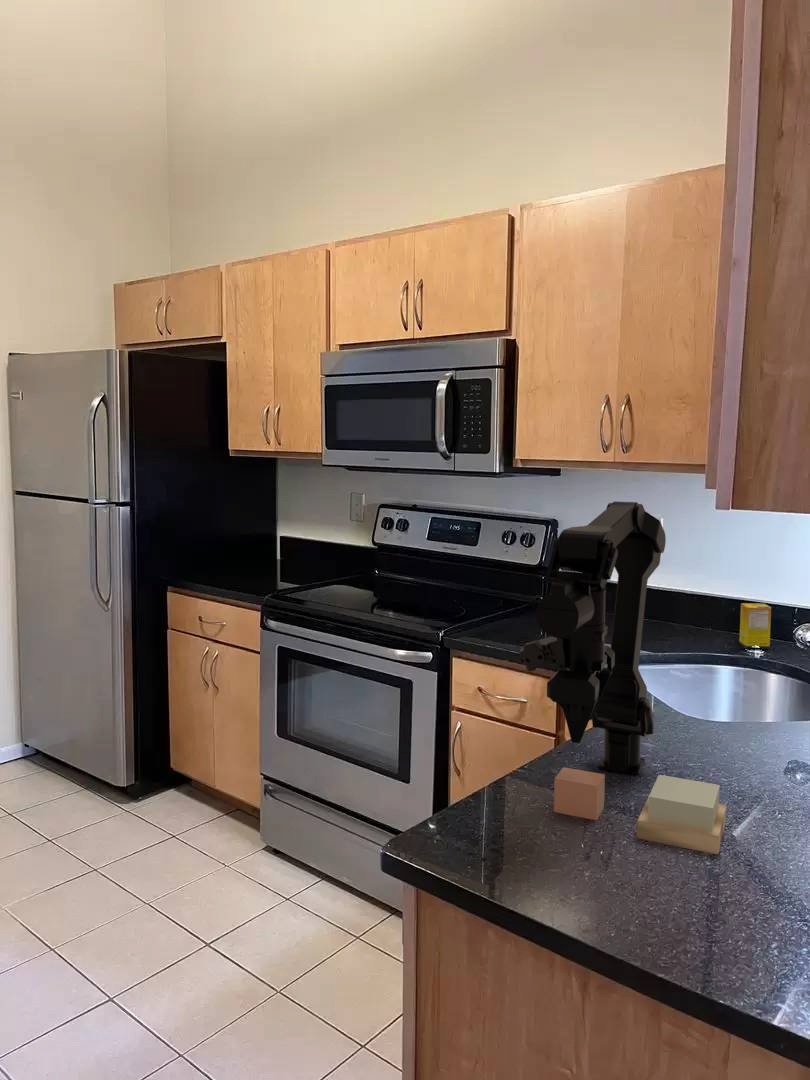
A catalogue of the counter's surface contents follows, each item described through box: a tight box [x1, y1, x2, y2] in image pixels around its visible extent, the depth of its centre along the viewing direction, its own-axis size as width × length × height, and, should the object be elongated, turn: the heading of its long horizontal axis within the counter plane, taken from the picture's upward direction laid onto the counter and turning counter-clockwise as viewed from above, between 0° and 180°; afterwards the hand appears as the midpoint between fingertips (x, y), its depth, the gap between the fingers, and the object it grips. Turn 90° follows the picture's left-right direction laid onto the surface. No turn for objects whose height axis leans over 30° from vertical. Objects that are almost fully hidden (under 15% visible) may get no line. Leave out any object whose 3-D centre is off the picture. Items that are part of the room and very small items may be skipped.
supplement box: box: [738, 602, 772, 650], centre depth 211 cm, size 6×6×11 cm
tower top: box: [648, 774, 721, 831], centre depth 110 cm, size 8×8×3 cm
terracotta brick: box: [553, 766, 606, 821], centre depth 116 cm, size 4×6×5 cm
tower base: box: [636, 796, 727, 856], centre depth 110 cm, size 10×10×3 cm
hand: (582, 730), depth 114 cm, fingers open, 9 cm apart
